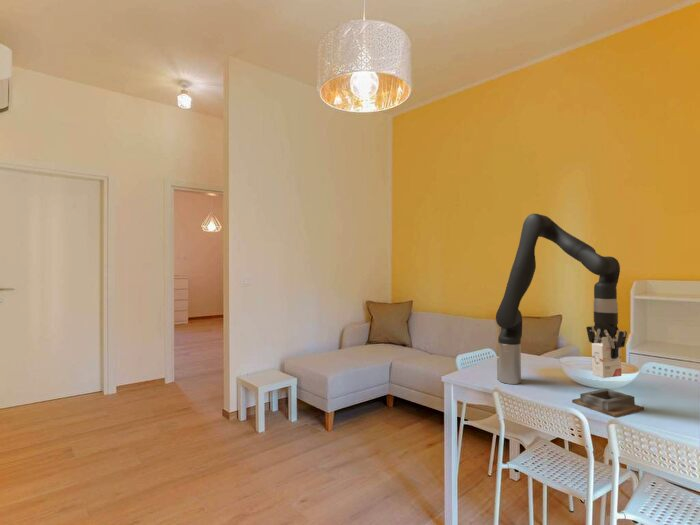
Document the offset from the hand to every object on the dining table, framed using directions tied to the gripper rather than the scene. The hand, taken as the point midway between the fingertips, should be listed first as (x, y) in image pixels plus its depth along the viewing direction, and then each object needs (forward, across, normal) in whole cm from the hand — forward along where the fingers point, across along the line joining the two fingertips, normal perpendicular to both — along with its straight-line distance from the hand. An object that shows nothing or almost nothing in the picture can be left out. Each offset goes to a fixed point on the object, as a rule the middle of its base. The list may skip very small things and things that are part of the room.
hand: (606, 356), depth 146 cm
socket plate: (+18, 0, 0) cm, 18 cm away
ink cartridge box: (+7, 0, 0) cm, 7 cm away
